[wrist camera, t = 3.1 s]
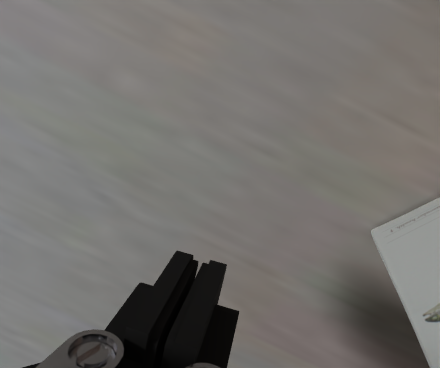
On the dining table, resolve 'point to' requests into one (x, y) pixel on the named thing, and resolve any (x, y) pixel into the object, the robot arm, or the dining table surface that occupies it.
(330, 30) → the dining table surface
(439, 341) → the supplement box
